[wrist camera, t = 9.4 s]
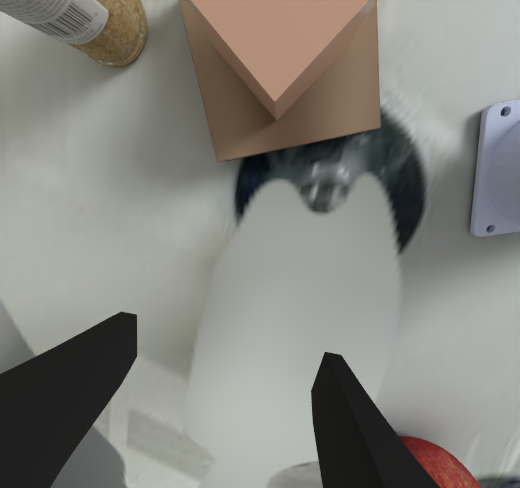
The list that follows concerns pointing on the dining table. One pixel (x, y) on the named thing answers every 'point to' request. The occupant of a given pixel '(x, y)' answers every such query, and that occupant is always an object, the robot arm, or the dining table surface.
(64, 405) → the robot arm
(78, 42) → the sprinkles bottle
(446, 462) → the fruit
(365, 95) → the walnut box
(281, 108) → the terracotta block
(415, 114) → the dining table surface
